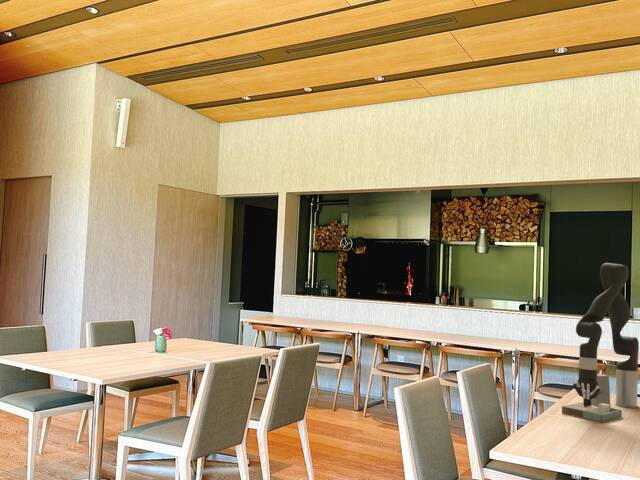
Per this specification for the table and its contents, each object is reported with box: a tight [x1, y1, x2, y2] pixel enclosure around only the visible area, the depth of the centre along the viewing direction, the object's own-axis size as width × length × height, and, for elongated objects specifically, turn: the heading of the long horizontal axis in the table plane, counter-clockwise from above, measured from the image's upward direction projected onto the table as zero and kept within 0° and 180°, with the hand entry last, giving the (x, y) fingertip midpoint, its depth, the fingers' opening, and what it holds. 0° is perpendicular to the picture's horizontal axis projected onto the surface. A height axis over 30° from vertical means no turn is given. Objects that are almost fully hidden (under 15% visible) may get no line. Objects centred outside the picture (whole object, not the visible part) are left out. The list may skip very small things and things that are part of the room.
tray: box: [582, 407, 623, 423], centre depth 261 cm, size 18×8×3 cm, turn 129°
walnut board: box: [561, 402, 598, 419], centre depth 269 cm, size 16×10×3 cm, turn 129°
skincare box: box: [591, 373, 612, 408], centre depth 281 cm, size 8×7×16 cm
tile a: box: [598, 403, 611, 414], centre depth 265 cm, size 4×4×3 cm
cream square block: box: [586, 406, 599, 414], centre depth 259 cm, size 4×4×3 cm
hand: (587, 407), depth 262 cm, fingers closed
